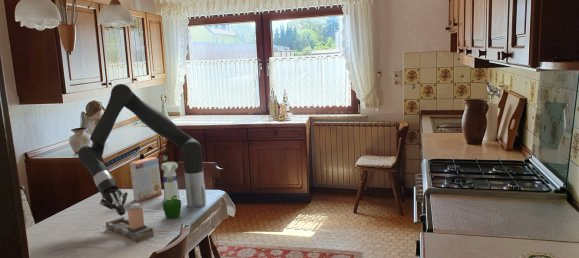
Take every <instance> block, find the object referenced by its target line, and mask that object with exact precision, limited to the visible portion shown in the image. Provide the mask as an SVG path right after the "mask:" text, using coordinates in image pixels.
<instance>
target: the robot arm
mask: <svg viewBox="0 0 579 258" xmlns="http://www.w3.org/2000/svg"><path fill="white" fill-rule="evenodd" d="M124 108H126V109H127V110H128V111H130V112H131V113H133V114H134V115H135V116H136V117H137V118H138V120H140V122H141V123H143V124H145V126H146V127H148V128H149V129H150V130H152V132H154V133H156V135H159V136H161V137H162V138H164V139H167V140H168V141H170V142H171V143H172V144H174V145H176V147H177V148H179V149H180V151H182V157H183V158H182V159H183V172H184V184H185V194H186V195H185V196H186V205H187V207H190V208H199V207H203V206H206V204H207V198H206V197H207V195H206V193H207V192H206V184H205V178H204V177H205V176H204V159H203V147H202V145H201V144H200V141H198V140H197V139H195V138H193V137H192V136H190V135H189V134H187V133H186V132H184V131H183V130H182V129H181V128H180V127H178V126H177V125H176V123H174V122H173V121H172V120H171V119H170V118H169V117H167V115H165V114H163V112H161V111H160V110H159V109H157V108H155V107H153V106H152V105H150V104H148V103H147V102H145V101H144V100H142V99H141V98H140V97H139V96H137V94H136V93H135V92H134V91H132V89H131V87H129V85H128V84H124V83H118V84H115V85H114V86H113V87H112V89H111V91H110V96H109V98H108V102H107V106H106V108H105V109H104V111H103V113H102V115H101V116H100V118H99V120H98V122H97V124H96V125H95V127H94V129H93V130H92V133H91V135H90V136H89V140H90V141H91V142H92V146H89V145H84V146H82V147H80V148H79V150H78V152H77V155H78V160H79V161H80V162H81V164H82V165H83V166H84V167H85V168H86V170H88V171H89V173H90V175H91V177H92V178H93V181H94V184H95V186H96V187H97V189H98V191H99V193H100V194H101V197H102V199H101V200H100V201H99V204H100V205H101V206H103V207H105V208H107V209H109V210H115V211H116V212H117V214H118V215H119V217H120V216H121V217H123V216H125V214H126V209H125V208H124V206H125V204H126V201H127V197H128V192H122V191H121V189H119V186H118V184H117V183H116V181H115V179H114V177H113V175H112V173H110V171H109V169H108V168H107V166H106V164H105V163H104V162H102V161H101V159H102V157H103V155H104V154H103V153H104V150H105V146H106V145H105V144H106V142H107V140H108V138H109V136H110V135H111V133H112V130H113V129H114V126H115V123H116V121H117V119H118V118H119V115H120V113H121V112H122V110H123V109H124Z"/></svg>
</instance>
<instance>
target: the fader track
mask: <svg viewBox="0 0 579 258" xmlns="http://www.w3.org/2000/svg"><path fill="white" fill-rule="evenodd" d="M105 227H106V230H107V231H108V230H109V232H111V233H113V234H116V235H118V236H120V237H123V238H126V239H128V240H130V241H133V242H135V243H138V242H141V241H143V240H147V239H149V238H151V237H154V229H153V227H151V226H147V225H146V229H143V230H140V231H138V232H135V233H134V232H131V231H129V230H128V227H130V226H129V218H126V217H125V216H121V217H120V216H119V217H117V218H115V219H111V220H108V221H105Z"/></svg>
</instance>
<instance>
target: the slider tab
mask: <svg viewBox="0 0 579 258" xmlns="http://www.w3.org/2000/svg"><path fill="white" fill-rule="evenodd" d="M127 214H128V220H129V226H130V227H128V230H129V231H131V232H134V233H135V232H138V231H140V230H143V229H146V226H147V225H145V220H144V210H143V206H141V204H140V203H138V202H134V203H131V204H129V208H128V209H127Z"/></svg>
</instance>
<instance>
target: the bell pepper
mask: <svg viewBox="0 0 579 258" xmlns="http://www.w3.org/2000/svg"><path fill="white" fill-rule="evenodd" d="M175 197H177V196H176V195H175V196H173V197H172V198H171V200H166V201H165V200H164V201H163V202H162V209H163V212H164V215H165V217H166V218H167V219H171V220H172V219H177V218H178V217H179V216H180V214H181V212H182V211H181V210H182V201H181V199H173V198H175Z"/></svg>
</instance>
